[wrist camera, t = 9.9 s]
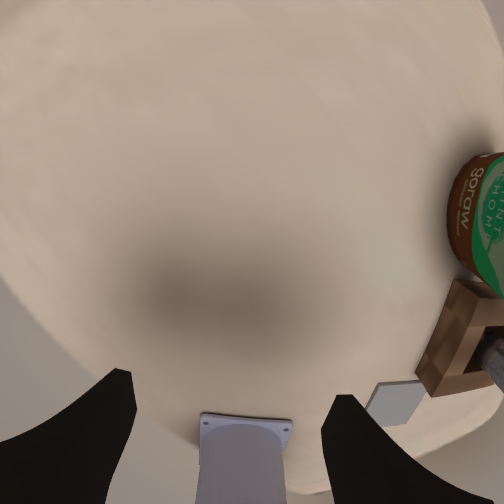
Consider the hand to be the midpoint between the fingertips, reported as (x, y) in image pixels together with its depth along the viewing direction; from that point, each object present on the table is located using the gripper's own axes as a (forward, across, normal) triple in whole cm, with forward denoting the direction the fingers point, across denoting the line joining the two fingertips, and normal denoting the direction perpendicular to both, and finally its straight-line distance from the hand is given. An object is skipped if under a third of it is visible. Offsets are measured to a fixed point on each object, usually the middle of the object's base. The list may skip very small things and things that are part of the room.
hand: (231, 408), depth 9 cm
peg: (+10, -20, +2) cm, 23 cm away
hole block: (+10, -20, +2) cm, 23 cm away
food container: (+10, -15, -8) cm, 20 cm away
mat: (+10, -16, +10) cm, 21 cm away
